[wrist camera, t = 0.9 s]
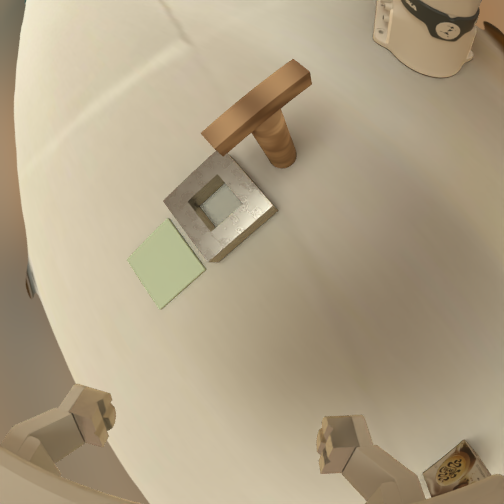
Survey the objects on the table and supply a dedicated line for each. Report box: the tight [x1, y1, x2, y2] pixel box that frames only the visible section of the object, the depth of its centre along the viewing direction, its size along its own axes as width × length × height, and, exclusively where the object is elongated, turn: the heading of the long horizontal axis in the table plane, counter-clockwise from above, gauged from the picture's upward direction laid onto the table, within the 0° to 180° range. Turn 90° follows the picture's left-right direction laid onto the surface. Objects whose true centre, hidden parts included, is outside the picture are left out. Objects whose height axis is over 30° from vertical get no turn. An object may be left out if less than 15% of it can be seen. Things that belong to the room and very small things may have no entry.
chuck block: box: [163, 151, 278, 262], centre depth 43 cm, size 11×11×4 cm
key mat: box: [127, 218, 206, 310], centre depth 47 cm, size 10×10×1 cm
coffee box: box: [423, 440, 491, 497], centre depth 26 cm, size 9×6×16 cm
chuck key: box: [201, 59, 312, 168], centre depth 35 cm, size 12×4×16 cm, turn 129°
